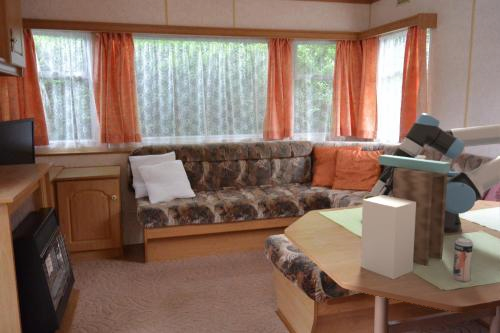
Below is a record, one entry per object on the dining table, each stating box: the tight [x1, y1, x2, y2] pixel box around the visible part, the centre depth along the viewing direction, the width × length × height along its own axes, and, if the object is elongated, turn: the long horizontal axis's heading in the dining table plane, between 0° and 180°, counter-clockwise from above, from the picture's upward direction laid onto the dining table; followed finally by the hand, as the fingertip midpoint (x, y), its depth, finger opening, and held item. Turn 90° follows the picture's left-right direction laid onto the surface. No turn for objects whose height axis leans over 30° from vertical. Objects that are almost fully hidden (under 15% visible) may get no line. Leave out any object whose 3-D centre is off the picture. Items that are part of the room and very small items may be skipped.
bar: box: [378, 154, 451, 174], centre depth 144 cm, size 24×4×3 cm, turn 37°
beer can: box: [452, 237, 474, 282], centre depth 128 cm, size 5×5×12 cm
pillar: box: [360, 195, 416, 280], centre depth 136 cm, size 12×10×22 cm
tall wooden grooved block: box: [392, 167, 447, 267], centre depth 144 cm, size 13×10×30 cm
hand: (375, 199), depth 167 cm, fingers open, 13 cm apart
